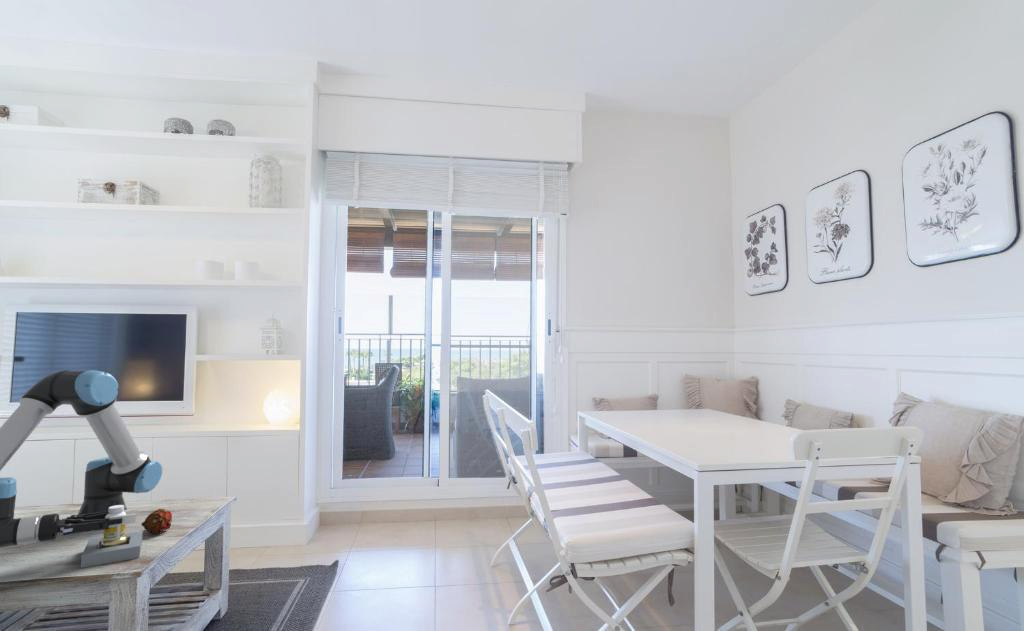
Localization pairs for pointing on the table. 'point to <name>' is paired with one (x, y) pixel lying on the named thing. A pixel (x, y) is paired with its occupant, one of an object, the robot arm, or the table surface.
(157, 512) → the dragon fruit
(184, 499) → the table surface
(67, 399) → the robot arm
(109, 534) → the supplement bottle
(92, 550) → the socket plate
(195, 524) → the table surface
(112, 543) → the plunger disc
